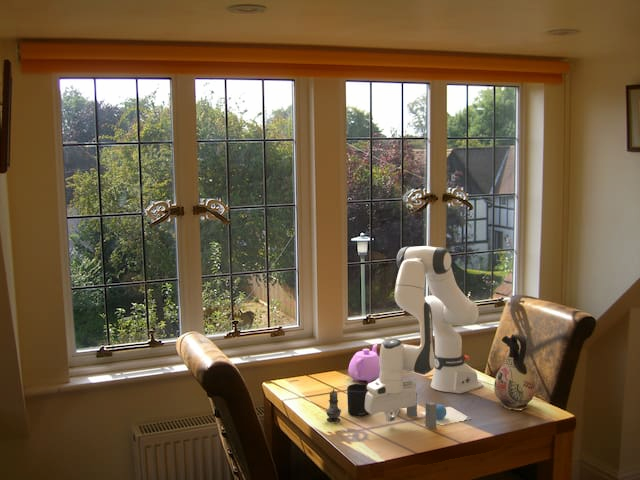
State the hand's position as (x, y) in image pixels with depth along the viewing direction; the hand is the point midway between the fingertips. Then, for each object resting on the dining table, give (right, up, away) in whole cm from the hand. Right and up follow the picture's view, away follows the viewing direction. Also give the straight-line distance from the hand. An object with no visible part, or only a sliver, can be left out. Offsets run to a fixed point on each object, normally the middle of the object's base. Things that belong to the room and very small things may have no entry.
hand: (390, 421), depth 253 cm
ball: (+19, +1, +7) cm, 20 cm away
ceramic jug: (+51, 0, +19) cm, 54 cm away
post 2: (+14, -2, 0) cm, 15 cm away
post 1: (+9, -1, +11) cm, 15 cm away
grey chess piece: (-21, -2, +7) cm, 22 cm away
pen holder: (-11, -1, +14) cm, 18 cm away
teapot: (-5, +4, +54) cm, 54 cm away
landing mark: (+22, -1, +10) cm, 24 cm away
